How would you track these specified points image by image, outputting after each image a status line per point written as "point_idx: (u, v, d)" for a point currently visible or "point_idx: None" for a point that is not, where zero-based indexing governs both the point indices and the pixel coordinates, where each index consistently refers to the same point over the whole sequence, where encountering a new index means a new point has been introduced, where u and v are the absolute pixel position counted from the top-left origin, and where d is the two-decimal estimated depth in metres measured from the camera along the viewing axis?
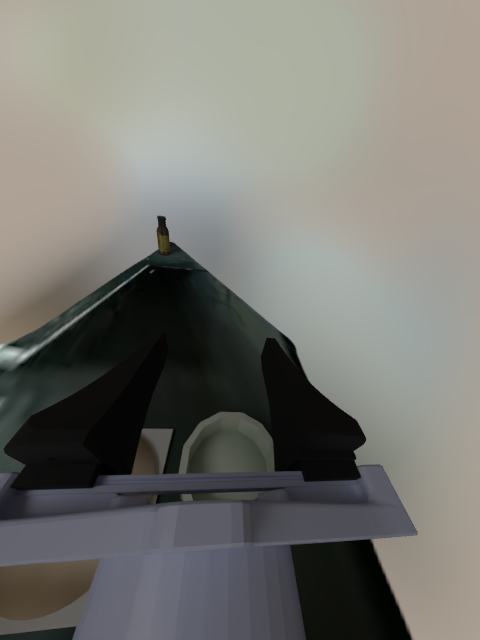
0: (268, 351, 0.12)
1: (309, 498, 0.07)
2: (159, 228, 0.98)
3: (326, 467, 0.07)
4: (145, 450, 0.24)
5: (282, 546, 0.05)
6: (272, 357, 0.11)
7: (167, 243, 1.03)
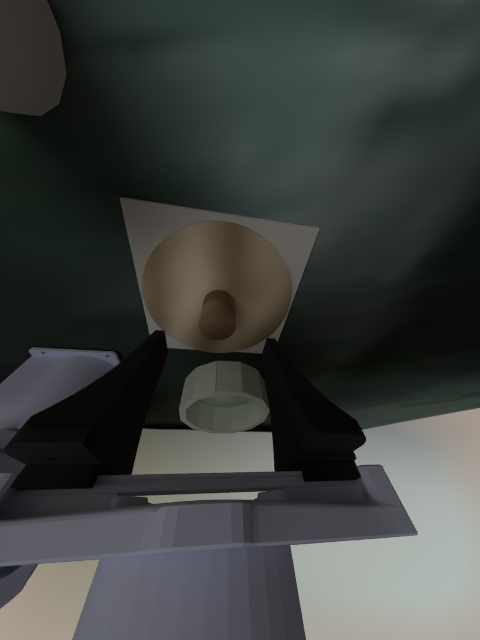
0: (268, 351, 0.12)
1: (309, 498, 0.07)
2: None
3: (326, 467, 0.07)
4: (253, 341, 0.21)
5: (282, 546, 0.05)
6: (272, 357, 0.11)
7: None
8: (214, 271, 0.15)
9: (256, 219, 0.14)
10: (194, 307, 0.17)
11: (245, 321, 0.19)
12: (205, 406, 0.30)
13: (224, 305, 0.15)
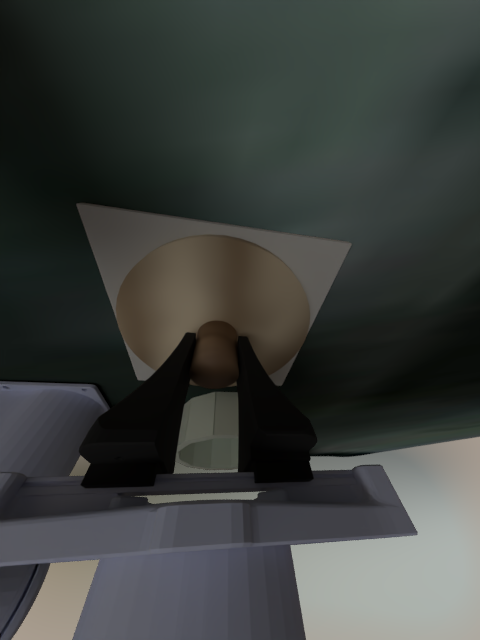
0: (238, 349, 0.12)
1: (309, 498, 0.07)
2: None
3: (278, 468, 0.07)
4: None
5: (283, 546, 0.05)
6: (240, 355, 0.11)
7: None
8: (211, 299, 0.12)
9: (267, 232, 0.10)
10: None
11: None
12: None
13: (224, 345, 0.11)
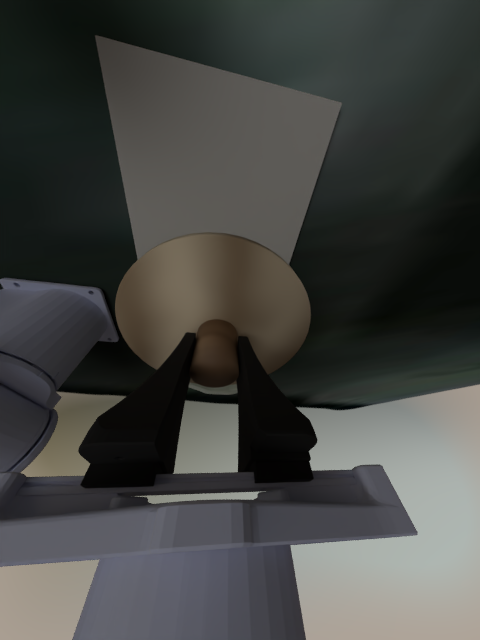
0: (238, 349, 0.12)
1: (309, 498, 0.07)
2: None
3: (278, 468, 0.07)
4: None
5: (282, 546, 0.05)
6: (240, 355, 0.11)
7: None
8: (211, 298, 0.12)
9: (266, 83, 0.11)
10: None
11: None
12: None
13: (224, 344, 0.11)
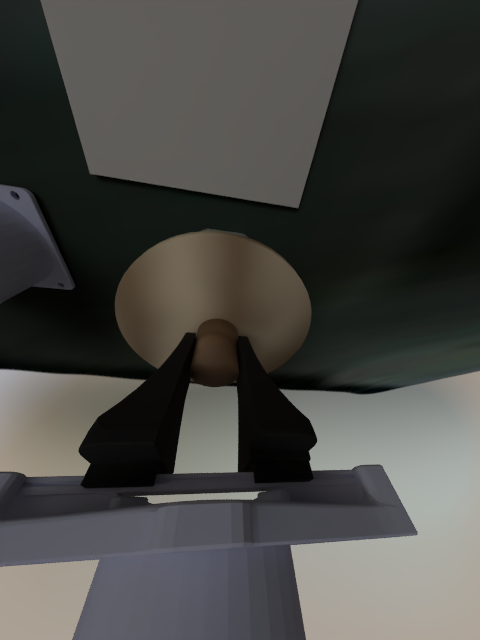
0: (238, 349, 0.12)
1: (309, 498, 0.07)
2: None
3: (277, 468, 0.07)
4: None
5: (282, 546, 0.05)
6: (240, 355, 0.11)
7: None
8: (211, 297, 0.12)
9: None
10: None
11: None
12: None
13: (224, 344, 0.11)
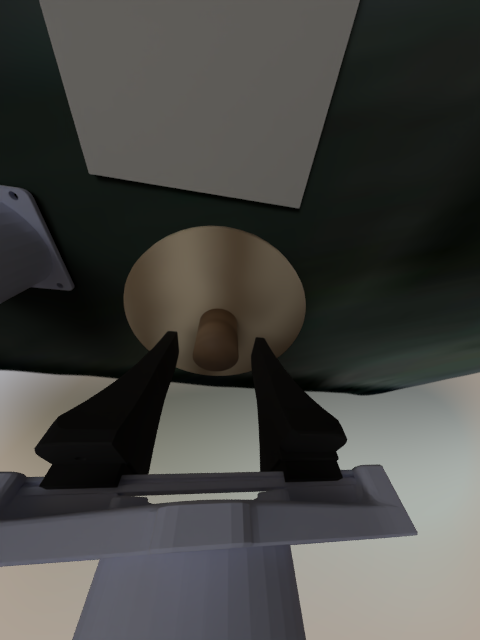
0: (256, 350, 0.12)
1: (309, 498, 0.07)
2: None
3: (307, 467, 0.07)
4: None
5: (282, 546, 0.05)
6: (260, 356, 0.11)
7: None
8: (212, 287, 0.13)
9: None
10: (189, 327, 0.15)
11: (249, 343, 0.16)
12: None
13: (225, 330, 0.12)
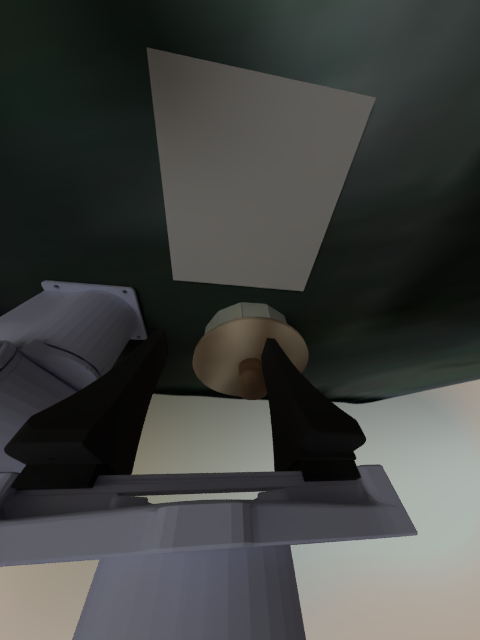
0: (268, 351, 0.12)
1: (309, 498, 0.07)
2: None
3: (326, 467, 0.07)
4: None
5: (283, 546, 0.05)
6: (272, 357, 0.11)
7: None
8: (249, 347, 0.20)
9: (303, 83, 0.12)
10: (231, 368, 0.22)
11: None
12: None
13: (259, 375, 0.19)
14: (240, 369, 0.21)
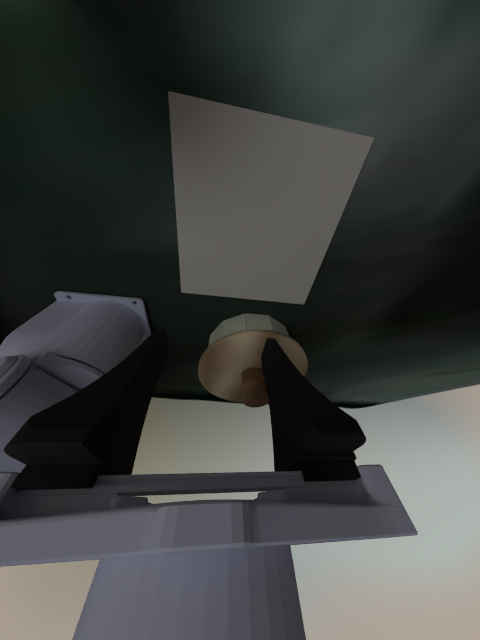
0: (268, 351, 0.12)
1: (309, 498, 0.07)
2: None
3: (326, 467, 0.07)
4: None
5: (282, 546, 0.05)
6: (272, 357, 0.11)
7: None
8: (253, 358, 0.21)
9: (309, 124, 0.13)
10: (234, 376, 0.23)
11: None
12: None
13: (261, 384, 0.20)
14: (243, 378, 0.22)
